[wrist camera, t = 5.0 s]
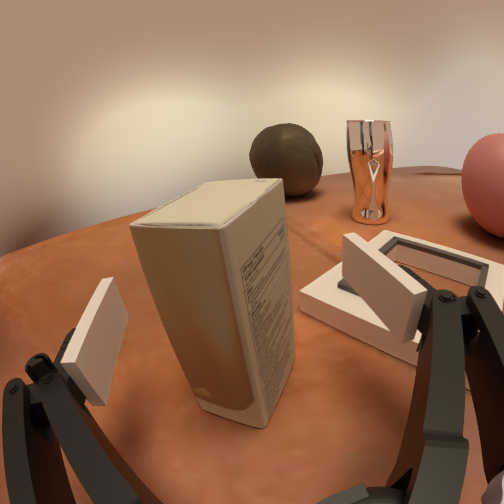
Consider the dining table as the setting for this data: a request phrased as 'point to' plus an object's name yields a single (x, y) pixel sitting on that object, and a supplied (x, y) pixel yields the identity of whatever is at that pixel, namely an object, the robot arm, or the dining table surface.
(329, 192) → the dining table surface
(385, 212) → the beer glass
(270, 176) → the dark brown ball
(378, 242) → the socket block
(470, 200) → the balloon
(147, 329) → the dining table surface
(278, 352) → the skincare box
